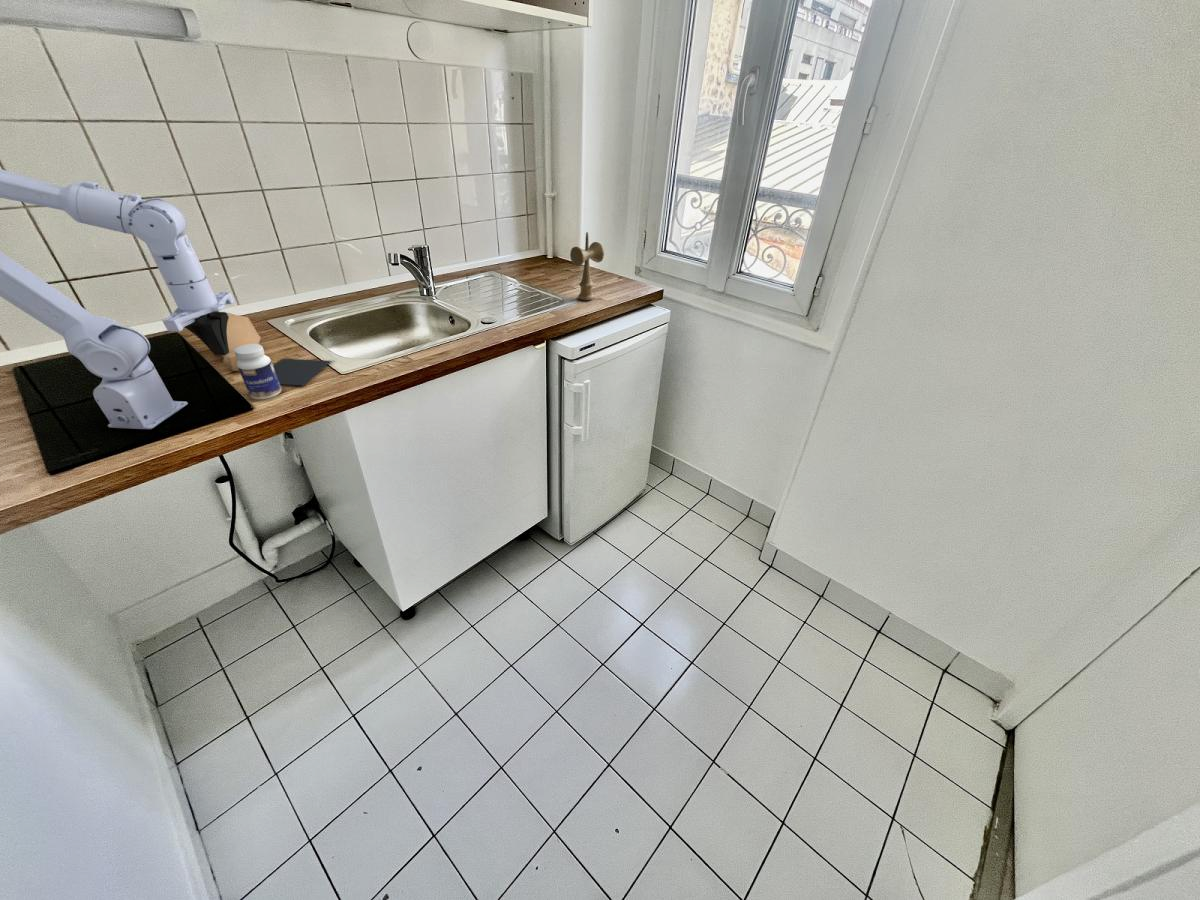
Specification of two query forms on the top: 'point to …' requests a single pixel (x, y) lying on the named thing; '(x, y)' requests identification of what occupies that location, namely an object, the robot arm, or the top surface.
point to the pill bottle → (257, 371)
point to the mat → (297, 371)
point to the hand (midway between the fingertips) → (221, 353)
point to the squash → (238, 338)
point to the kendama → (586, 265)
